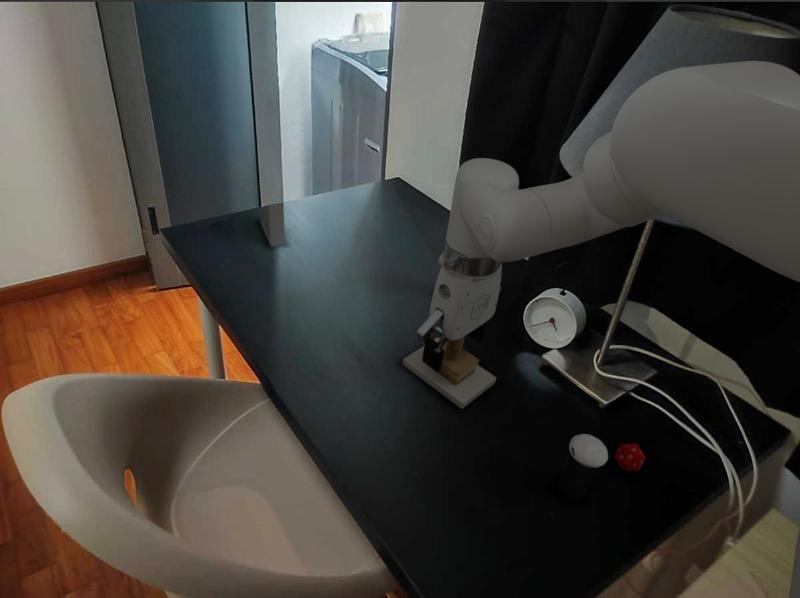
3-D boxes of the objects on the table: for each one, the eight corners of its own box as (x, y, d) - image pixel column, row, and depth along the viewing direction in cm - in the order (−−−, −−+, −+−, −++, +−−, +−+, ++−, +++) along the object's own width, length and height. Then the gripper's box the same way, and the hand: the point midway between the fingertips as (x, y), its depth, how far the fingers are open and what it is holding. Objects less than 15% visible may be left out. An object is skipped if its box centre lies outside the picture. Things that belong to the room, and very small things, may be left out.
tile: (495, 383, 87) (496, 377, 87) (461, 409, 83) (463, 403, 82) (436, 342, 94) (437, 336, 93) (402, 364, 89) (403, 358, 88)
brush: (476, 372, 87) (485, 334, 82) (455, 387, 84) (464, 348, 80) (444, 350, 90) (451, 312, 86) (423, 364, 88) (430, 325, 83)
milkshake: (540, 482, 74) (560, 431, 68) (573, 470, 76) (596, 420, 70) (561, 512, 71) (584, 462, 65) (595, 499, 73) (621, 449, 67)
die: (645, 451, 78) (635, 434, 76) (651, 473, 75) (641, 455, 73) (618, 458, 79) (608, 441, 78) (624, 480, 77) (613, 462, 75)
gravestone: (270, 246, 111) (266, 159, 100) (260, 222, 118) (255, 138, 107) (284, 244, 112) (281, 158, 101) (274, 221, 119) (270, 137, 108)
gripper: (451, 293, 68) (433, 393, 78) (533, 245, 78) (507, 339, 89) (405, 264, 72) (394, 364, 82) (490, 222, 82) (470, 315, 92)
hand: (453, 351), depth 85 cm, fingers open, 9 cm apart
